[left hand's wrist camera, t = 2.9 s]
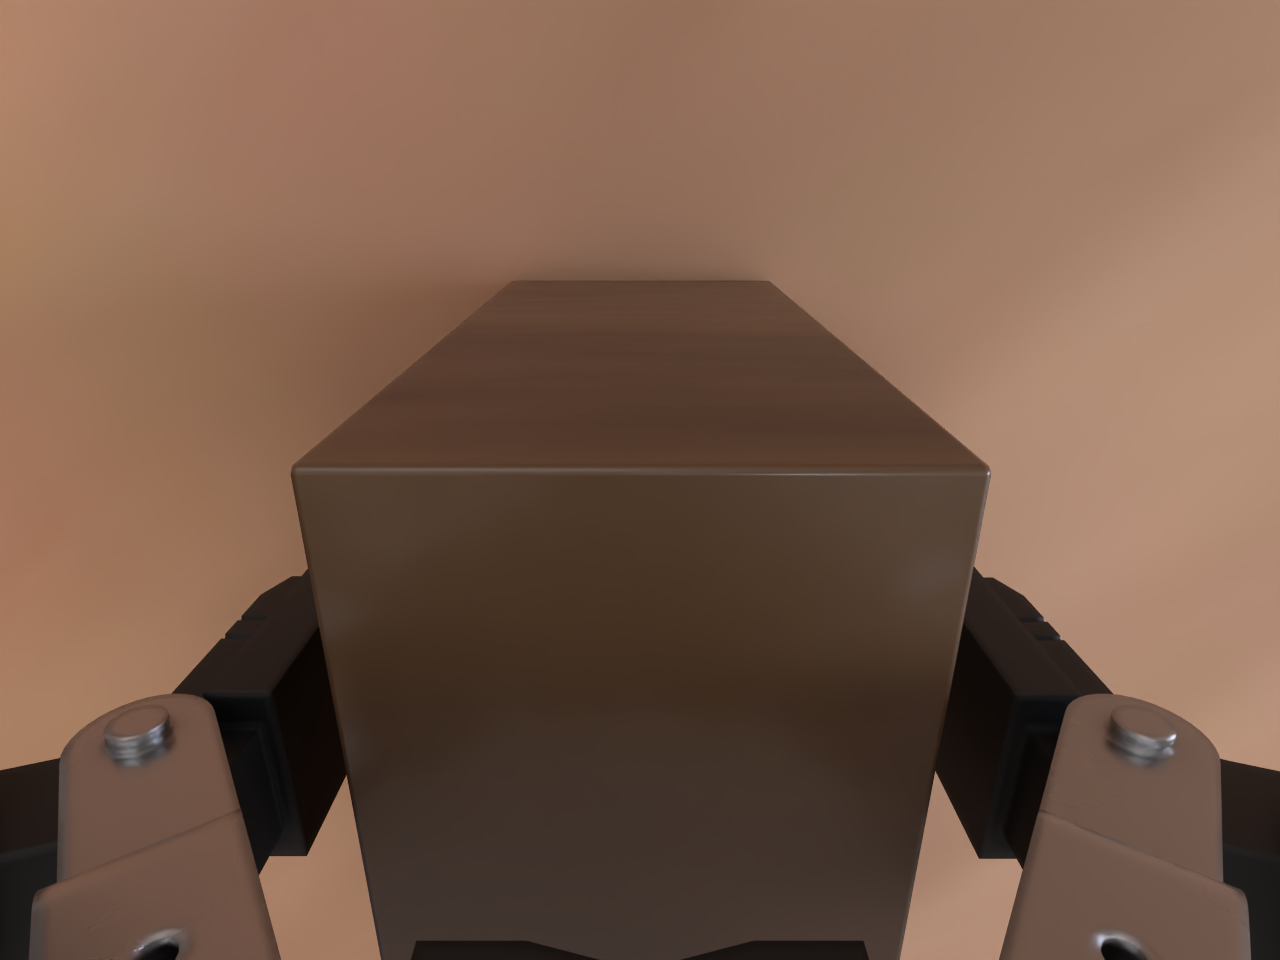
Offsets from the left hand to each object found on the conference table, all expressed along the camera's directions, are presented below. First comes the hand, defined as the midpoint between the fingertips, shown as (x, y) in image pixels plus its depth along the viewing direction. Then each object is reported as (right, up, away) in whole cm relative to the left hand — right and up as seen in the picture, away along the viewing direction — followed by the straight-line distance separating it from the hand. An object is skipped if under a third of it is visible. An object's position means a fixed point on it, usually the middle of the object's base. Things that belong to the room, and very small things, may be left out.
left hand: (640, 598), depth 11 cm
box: (0, -5, +11) cm, 12 cm away
